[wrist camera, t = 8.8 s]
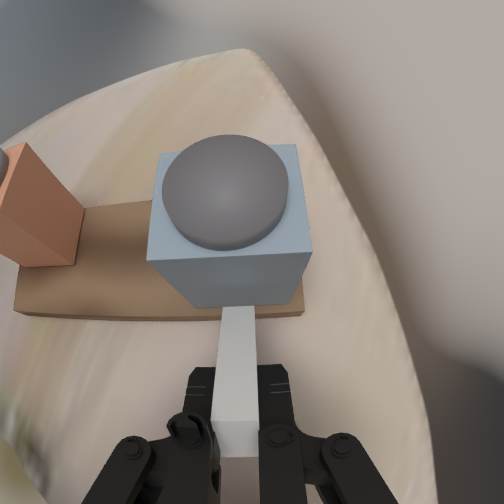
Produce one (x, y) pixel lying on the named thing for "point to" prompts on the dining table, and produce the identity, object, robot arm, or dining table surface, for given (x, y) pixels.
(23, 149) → the salmon button
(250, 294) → the slate button
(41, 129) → the dining table surface
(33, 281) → the button board
